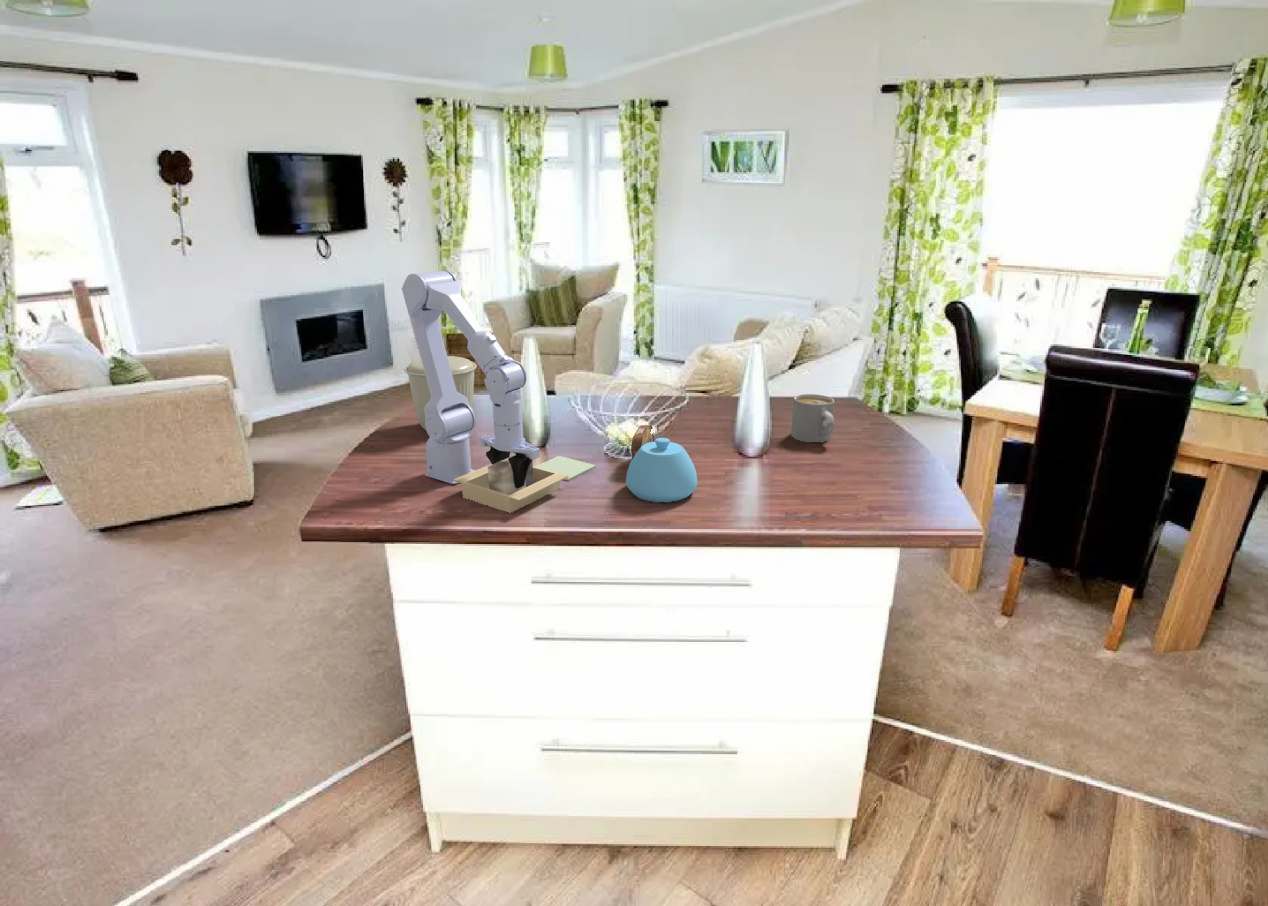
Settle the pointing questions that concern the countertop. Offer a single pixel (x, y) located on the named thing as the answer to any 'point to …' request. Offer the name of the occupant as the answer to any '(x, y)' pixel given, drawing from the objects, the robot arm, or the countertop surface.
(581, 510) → the countertop surface
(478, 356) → the robot arm
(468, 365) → the canister
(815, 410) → the coffee mug
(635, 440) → the tin
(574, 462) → the mat
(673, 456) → the sugar bowl
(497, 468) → the box
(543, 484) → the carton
